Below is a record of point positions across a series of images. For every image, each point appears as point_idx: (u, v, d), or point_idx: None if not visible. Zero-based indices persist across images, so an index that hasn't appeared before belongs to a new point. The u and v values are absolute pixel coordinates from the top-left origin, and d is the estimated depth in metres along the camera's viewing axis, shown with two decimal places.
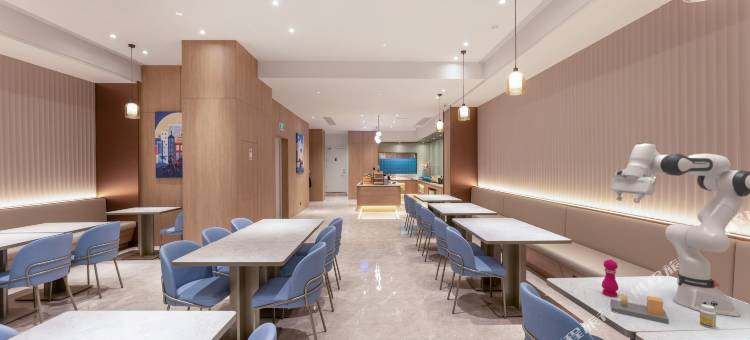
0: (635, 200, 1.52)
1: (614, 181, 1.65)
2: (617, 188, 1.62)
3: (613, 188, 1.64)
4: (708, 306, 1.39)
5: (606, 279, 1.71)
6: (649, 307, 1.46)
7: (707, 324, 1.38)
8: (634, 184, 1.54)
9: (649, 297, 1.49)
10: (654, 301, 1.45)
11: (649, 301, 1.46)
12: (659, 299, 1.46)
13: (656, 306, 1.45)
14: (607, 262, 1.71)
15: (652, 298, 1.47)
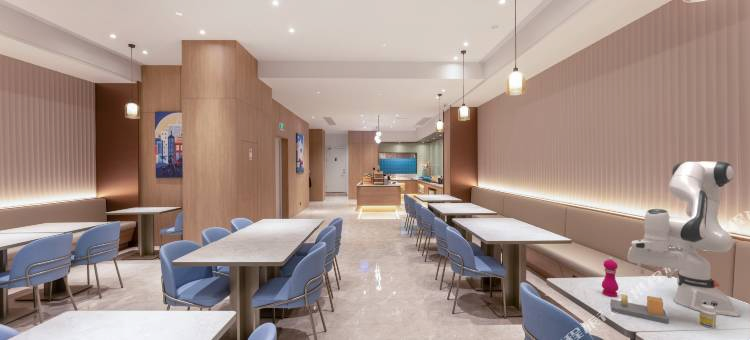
0: (670, 276, 1.43)
1: (632, 253, 1.50)
2: (640, 261, 1.49)
3: (633, 261, 1.50)
4: (708, 306, 1.39)
5: (606, 279, 1.71)
6: (649, 307, 1.46)
7: (707, 324, 1.38)
8: (664, 259, 1.44)
9: (649, 297, 1.49)
10: (654, 301, 1.45)
11: (649, 301, 1.46)
12: (659, 299, 1.46)
13: (656, 306, 1.45)
14: (607, 262, 1.71)
15: (652, 298, 1.47)
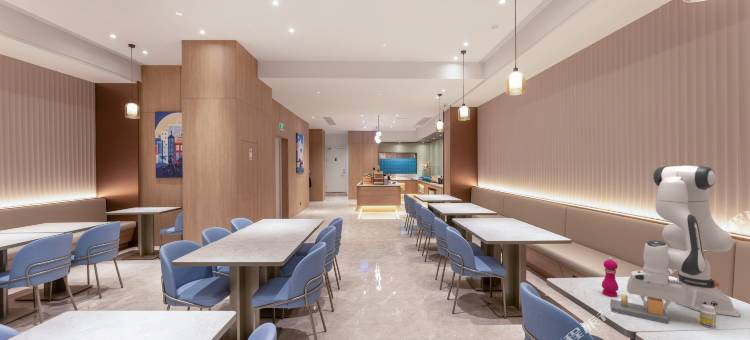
0: (664, 308, 1.44)
1: (632, 284, 1.50)
2: (639, 293, 1.49)
3: (633, 292, 1.50)
4: (708, 306, 1.39)
5: (606, 279, 1.71)
6: (649, 307, 1.46)
7: (707, 324, 1.38)
8: (663, 291, 1.44)
9: (649, 297, 1.49)
10: (654, 301, 1.45)
11: (649, 301, 1.46)
12: (659, 299, 1.46)
13: (656, 306, 1.45)
14: (607, 262, 1.71)
15: (652, 298, 1.47)
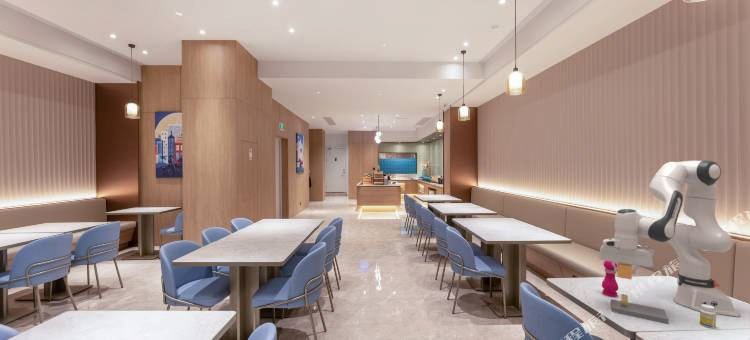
0: (633, 272, 1.51)
1: (603, 251, 1.56)
2: (610, 259, 1.55)
3: (604, 258, 1.56)
4: (708, 306, 1.39)
5: (606, 279, 1.71)
6: (619, 272, 1.52)
7: (707, 324, 1.38)
8: (632, 257, 1.50)
9: (619, 263, 1.55)
10: (624, 266, 1.51)
11: (619, 266, 1.52)
12: (629, 264, 1.52)
13: (625, 271, 1.51)
14: (607, 262, 1.71)
15: (622, 264, 1.53)
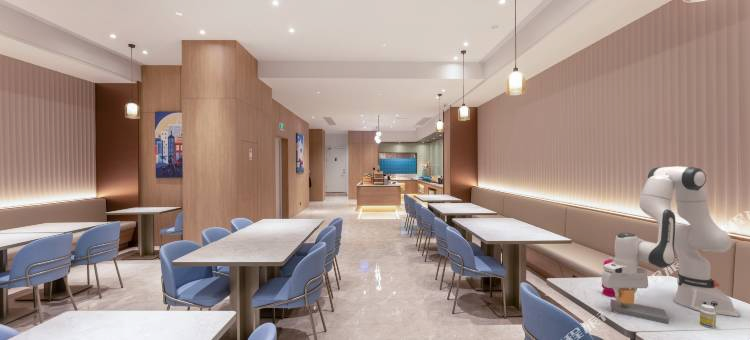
0: None
1: (611, 279, 1.51)
2: (616, 286, 1.51)
3: (611, 286, 1.51)
4: (708, 306, 1.39)
5: None
6: (624, 298, 1.50)
7: (707, 324, 1.38)
8: (633, 280, 1.51)
9: (620, 288, 1.53)
10: (628, 291, 1.50)
11: (624, 292, 1.50)
12: (627, 288, 1.53)
13: (629, 296, 1.51)
14: (607, 262, 1.71)
15: (623, 288, 1.53)
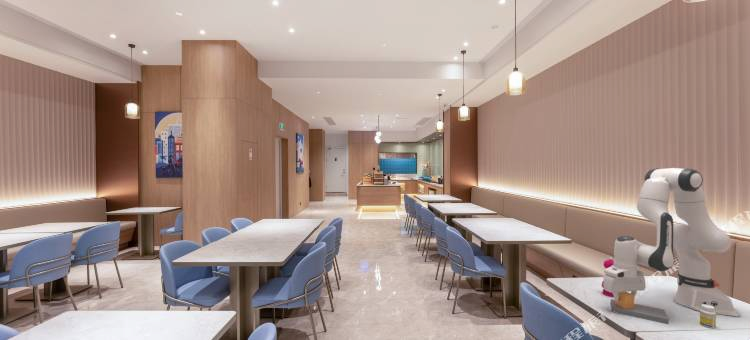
0: None
1: (613, 283, 1.50)
2: (618, 290, 1.51)
3: (613, 291, 1.50)
4: (708, 306, 1.39)
5: None
6: (625, 303, 1.50)
7: (707, 324, 1.38)
8: (633, 283, 1.52)
9: (620, 293, 1.53)
10: (628, 296, 1.51)
11: (625, 297, 1.50)
12: (627, 292, 1.54)
13: (630, 300, 1.51)
14: (607, 262, 1.71)
15: (623, 293, 1.53)
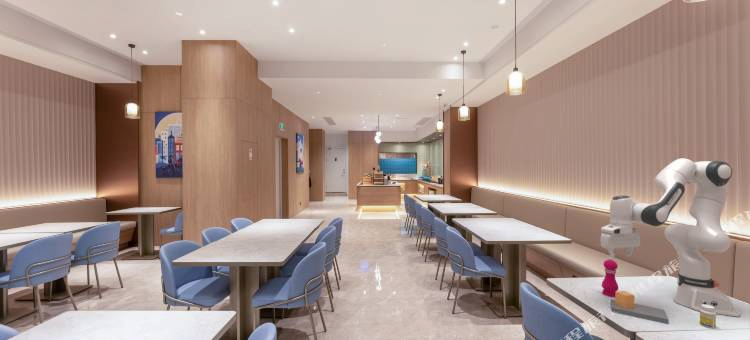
0: (630, 254, 1.60)
1: (610, 240, 1.56)
2: (614, 246, 1.57)
3: (610, 247, 1.56)
4: (708, 306, 1.39)
5: (606, 279, 1.71)
6: (625, 303, 1.50)
7: (707, 324, 1.38)
8: (628, 240, 1.58)
9: (620, 293, 1.53)
10: (628, 296, 1.51)
11: (625, 297, 1.50)
12: (627, 292, 1.54)
13: (630, 300, 1.51)
14: (607, 262, 1.71)
15: (623, 293, 1.53)
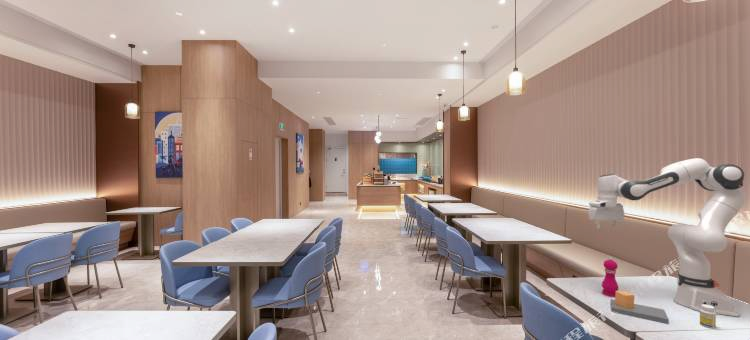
0: (615, 226, 1.79)
1: (596, 212, 1.76)
2: (600, 218, 1.76)
3: (597, 219, 1.76)
4: (708, 306, 1.39)
5: (606, 279, 1.71)
6: (625, 303, 1.50)
7: (707, 324, 1.38)
8: (613, 213, 1.78)
9: (620, 293, 1.53)
10: (628, 296, 1.51)
11: (625, 297, 1.50)
12: (627, 292, 1.54)
13: (630, 300, 1.51)
14: (607, 262, 1.71)
15: (623, 293, 1.53)
